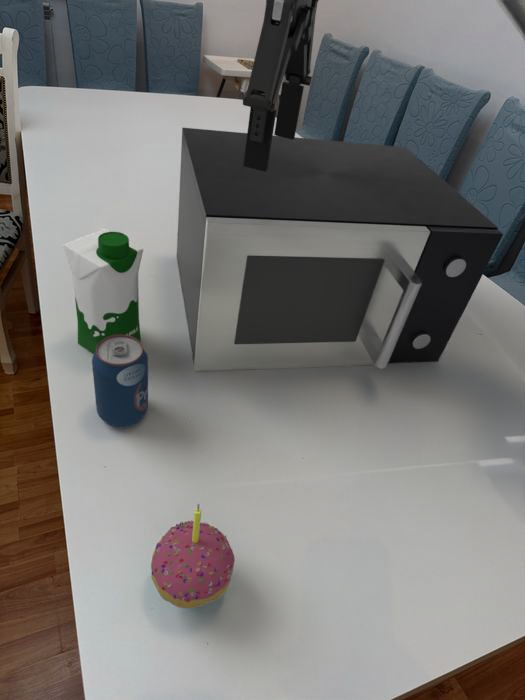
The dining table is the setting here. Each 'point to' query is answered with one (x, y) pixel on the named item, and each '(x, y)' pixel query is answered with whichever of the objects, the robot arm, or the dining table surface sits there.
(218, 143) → the microwave
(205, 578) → the cupcake
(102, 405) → the soda can
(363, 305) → the microwave door
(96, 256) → the milk carton
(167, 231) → the dining table surface
